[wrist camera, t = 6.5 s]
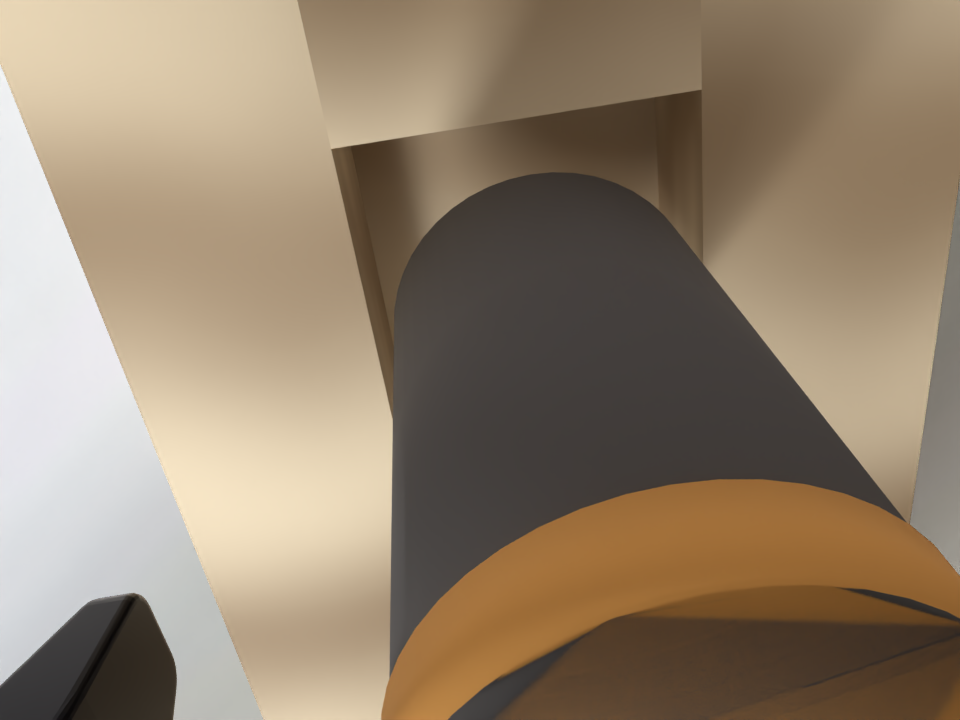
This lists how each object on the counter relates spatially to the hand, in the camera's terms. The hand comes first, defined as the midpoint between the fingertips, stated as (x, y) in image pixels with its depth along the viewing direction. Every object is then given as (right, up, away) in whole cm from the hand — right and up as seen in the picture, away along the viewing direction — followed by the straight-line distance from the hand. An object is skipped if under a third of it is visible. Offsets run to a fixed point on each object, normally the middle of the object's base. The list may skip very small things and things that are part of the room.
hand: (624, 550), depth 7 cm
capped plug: (0, +2, +4) cm, 4 cm away
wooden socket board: (0, -1, +11) cm, 11 cm away
